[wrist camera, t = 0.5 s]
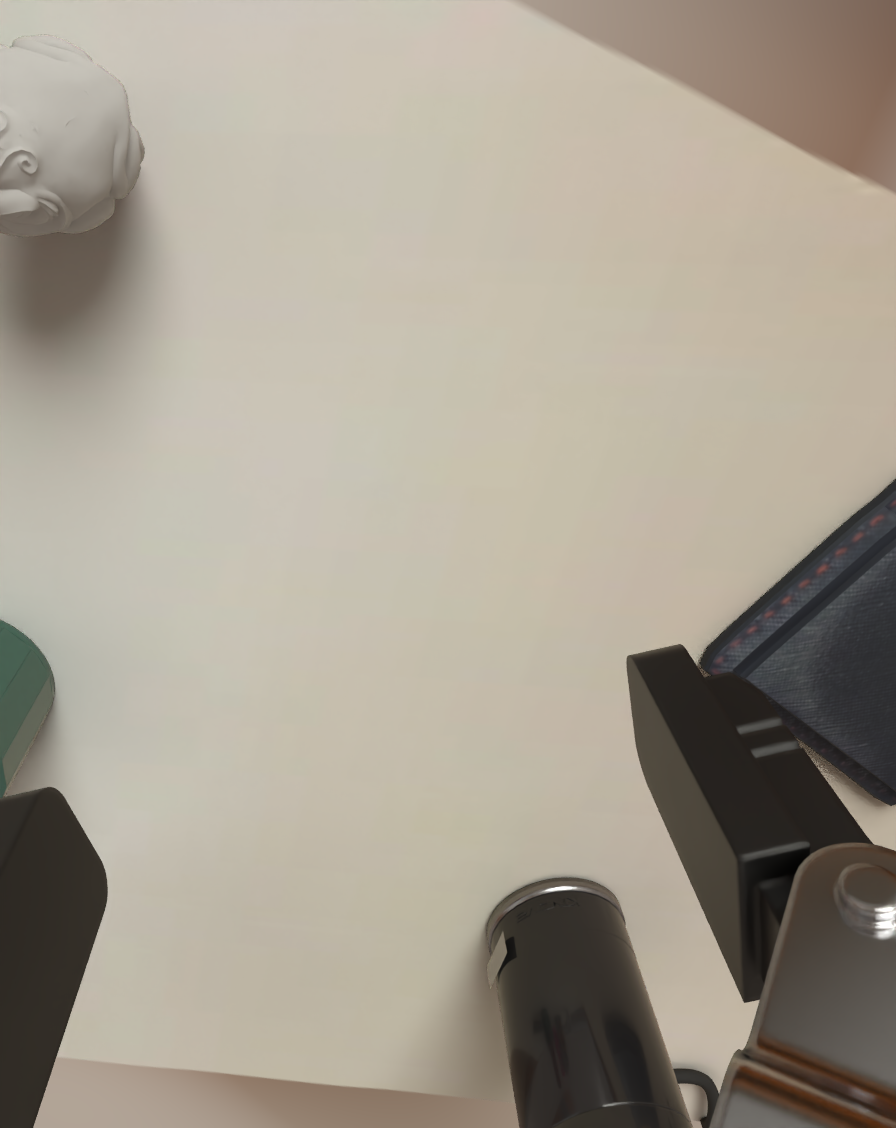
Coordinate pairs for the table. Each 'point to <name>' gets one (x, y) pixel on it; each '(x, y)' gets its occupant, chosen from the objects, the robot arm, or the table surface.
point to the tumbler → (20, 700)
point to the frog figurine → (61, 139)
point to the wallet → (830, 648)
